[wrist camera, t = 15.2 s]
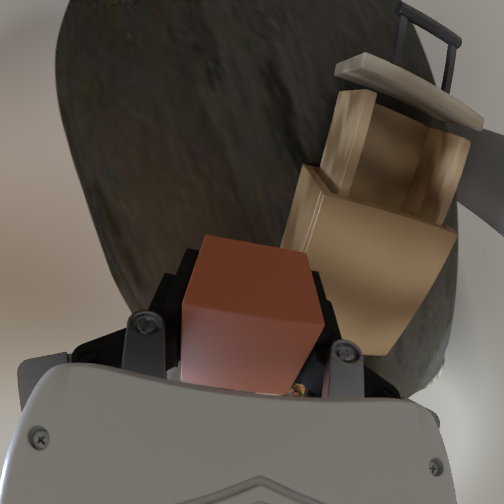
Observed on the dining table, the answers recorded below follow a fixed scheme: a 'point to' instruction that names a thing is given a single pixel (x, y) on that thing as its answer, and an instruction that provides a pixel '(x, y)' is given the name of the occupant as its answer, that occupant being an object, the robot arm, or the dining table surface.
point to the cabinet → (366, 259)
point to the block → (248, 317)
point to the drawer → (398, 132)
